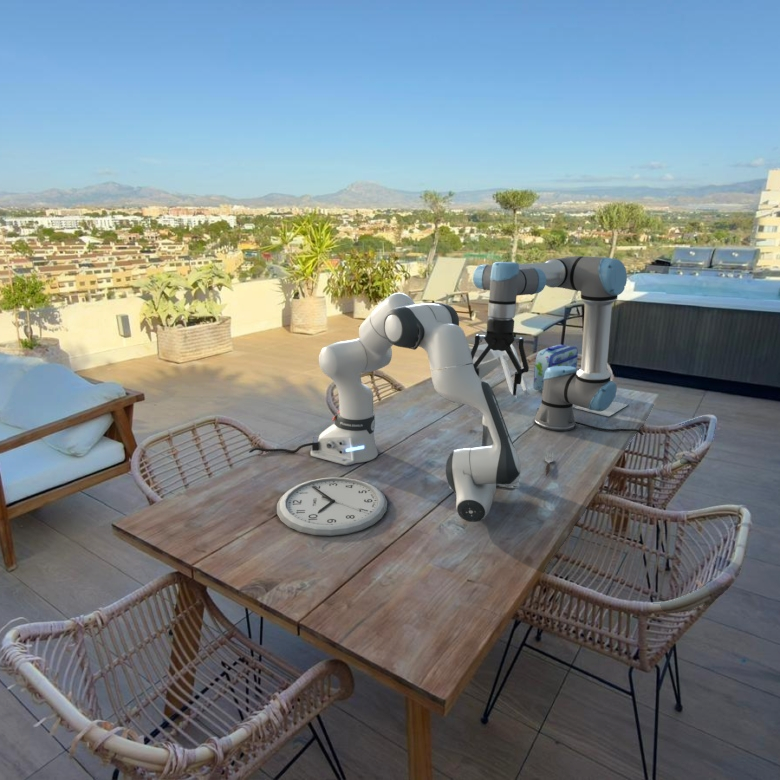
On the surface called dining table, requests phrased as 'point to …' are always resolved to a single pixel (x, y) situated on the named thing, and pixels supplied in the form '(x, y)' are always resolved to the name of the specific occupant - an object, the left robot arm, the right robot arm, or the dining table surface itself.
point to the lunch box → (553, 361)
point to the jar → (486, 437)
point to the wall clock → (331, 506)
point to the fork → (548, 462)
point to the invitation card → (608, 412)
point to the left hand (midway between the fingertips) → (487, 463)
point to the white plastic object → (497, 365)
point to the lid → (484, 421)
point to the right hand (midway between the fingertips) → (495, 392)
